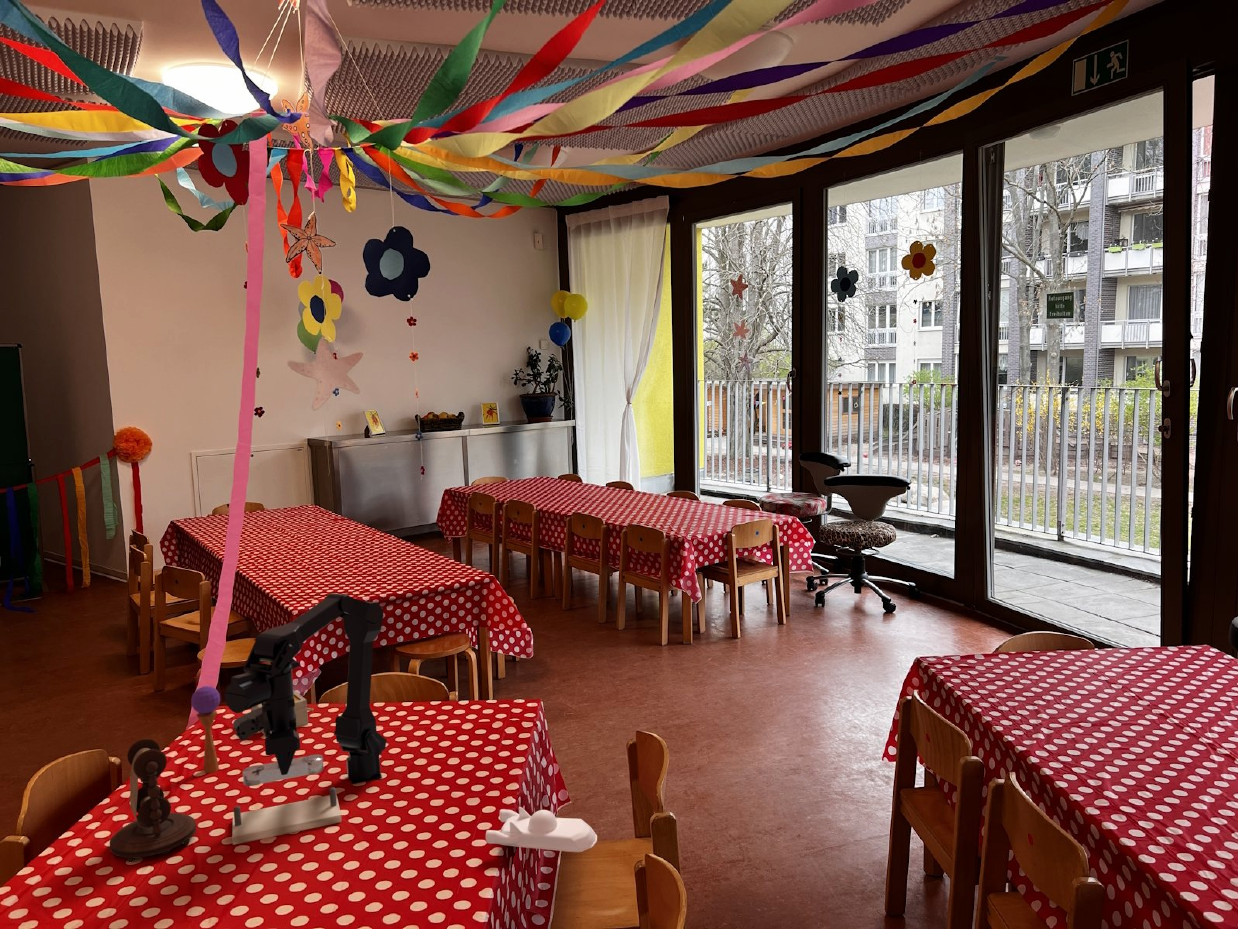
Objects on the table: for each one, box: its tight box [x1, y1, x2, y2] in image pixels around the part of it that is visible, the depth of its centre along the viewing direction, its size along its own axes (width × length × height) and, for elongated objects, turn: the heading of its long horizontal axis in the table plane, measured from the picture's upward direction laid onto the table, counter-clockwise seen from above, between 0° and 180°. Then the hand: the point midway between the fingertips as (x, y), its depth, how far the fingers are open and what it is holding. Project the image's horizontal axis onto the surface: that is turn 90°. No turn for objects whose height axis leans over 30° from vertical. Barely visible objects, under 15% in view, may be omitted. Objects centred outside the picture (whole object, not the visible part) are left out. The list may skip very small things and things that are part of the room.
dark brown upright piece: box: [109, 738, 197, 863], centre depth 171 cm, size 15×15×20 cm
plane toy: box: [485, 806, 598, 853], centre depth 169 cm, size 10×20×6 cm, turn 79°
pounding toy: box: [250, 689, 314, 736], centre depth 234 cm, size 18×17×8 cm
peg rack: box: [231, 787, 342, 845], centre depth 179 cm, size 20×10×5 cm, turn 113°
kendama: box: [190, 685, 221, 773], centre depth 203 cm, size 6×6×20 cm
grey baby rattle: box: [242, 754, 325, 787], centre depth 179 cm, size 15×4×2 cm, turn 113°
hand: (284, 770), depth 179 cm, fingers closed on grey baby rattle, 3 cm apart
